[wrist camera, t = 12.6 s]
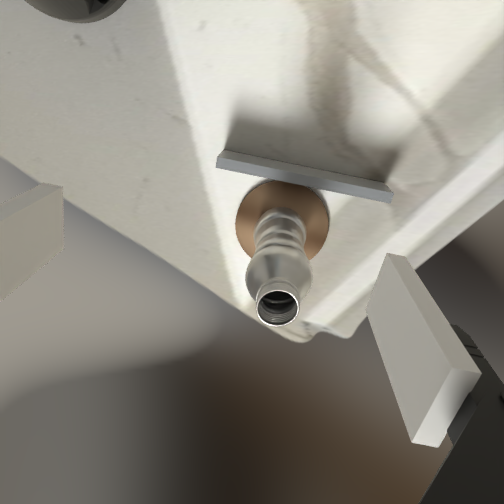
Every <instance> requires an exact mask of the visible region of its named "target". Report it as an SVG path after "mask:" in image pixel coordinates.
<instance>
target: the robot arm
mask: <svg viewBox="0 0 504 504" xmlns="http://www.w3.org/2000/svg"><path fill="white" fill-rule="evenodd" d="M25 1H26V2H27V3H29V4H30V5H31V6H33V7H34V8H36V9H37V10H39V11H41V12H43V13H45V14H47V15H49V16H51V17H54V18H57V19H61V20H65V21H68V22H74V23H90V22H95V21H99V20H101V19H104V18H106V17H108V16H109V15H111V14H113V13H114V12H115V11H116V10H117V9H119V8H120V7H121V6H122V5H123V3H124V2H125V1H126V0H25ZM63 249H64V222H63V187H62V186H57V185H52V184H47V183H42V184H40V185H38V186H36V187H34V188H32V189H30V190H28V191H26V192H24V193H21V194H19V195H17V196H15V197H13V198H11V199H9V200H7V201H5V202H3V203H1V204H0V302H1V301H2V300H4V299H5V298H6V297H7V296H8V295H9V294H11V293H12V292H13V291H14V290H15V289H17V288H18V287H19V286H20V285H21V284H22V283H24V282H25V281H26V280H27V279H29V278H30V277H31V276H32V275H33V274H34V273H35V272H37V271H38V270H39V269H40V268H42V267H43V266H44V265H45V264H46V263H48V262H49V261H50V260H51V259H52V258H53V257H55V256H56V255H57V254H58V253H60V252H61V251H62V250H63ZM365 310H366V313H367V316H368V318H369V321H370V324H371V327H372V330H373V332H374V336H375V339H376V341H377V344H378V347H379V350H380V353H381V356H382V359H383V361H384V364H385V367H386V370H387V373H388V376H389V379H390V382H391V384H392V387H393V390H394V393H395V396H396V399H397V402H398V405H399V407H400V411H401V413H402V416H403V419H404V422H405V425H406V428H407V431H408V434H409V436H410V439H411V442H412V443H417V444H423V445H428V446H433V447H439V445H440V444H441V442H442V440H443V439H444V437H445V435H446V434H447V432H448V435H449V437H450V439H451V441H452V443H453V447H452V448H451V450H450V451H449V453H448V455H447V457H446V458H445V460H444V461H443V463H442V465H441V466H440V468H439V469H438V471H437V473H436V475H435V477H434V478H433V480H432V482H431V483H430V485H429V487H428V488H427V490H426V492H425V493H424V495H423V497H422V499H421V500H420V502H419V503H418V504H504V384H503V383H502V381H501V380H500V379H499V377H498V376H497V374H496V373H495V371H494V370H493V369H492V367H491V366H490V364H489V363H488V361H487V360H486V359H484V356H483V354H482V353H481V351H480V350H479V349H477V348H478V347H477V346H476V344H475V343H474V341H473V340H472V339H471V337H470V336H469V335H468V334H467V333H465V332H464V331H463V330H462V329H461V328H460V327H458V326H457V325H452V324H449V323H448V321H447V320H446V318H445V317H444V315H443V313H442V312H441V310H440V309H439V307H438V306H437V304H436V303H435V301H434V300H433V298H432V297H431V295H430V294H429V292H428V290H427V289H426V288H425V286H424V285H423V283H422V281H421V280H420V278H419V277H418V275H417V274H416V272H415V271H414V269H413V268H412V266H411V265H410V263H409V261H408V260H407V258H406V257H404V256H399V255H395V254H390V253H387V254H386V256H385V259H384V262H383V264H382V267H381V269H380V272H379V275H378V277H377V280H376V283H375V285H374V288H373V290H372V293H371V296H370V298H369V301H368V303H367V306H366V309H365Z"/></svg>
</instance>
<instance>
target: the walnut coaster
mask: <svg viewBox="0 0 504 504" xmlns="http://www.w3.org/2000/svg"><path fill="white" fill-rule="evenodd" d="M276 207H286V208H290V209H292V210H294V211H295V212H297V213H298V214H299V215H300V217H301V218H302V219H303V221H304V223H305V226H306V231H307V233H306V240H305V244H304V252H305V254H306V256H307V258H308V260H310V259H312V258H313V257H314V256H315V255H316V254H317V253H318V252H319V251H320V249H321V248H322V246H323V244H324V242H325V240H326V237H327V233H328V217H327V212H326V210H325V207H324V205H323V203H322V201H321V200H320V198H319V197H318V196H317V195H316V194H315V193H314V192H313V191H312V190H310V189H309V188H308V187H306V186H303V185H298V184H293V183H288V182H283V181H279V180H277V181H271V182H267V183H265V184H262V185H260V186H258V187H256V188H255V189H254V190H252V191H251V192H250V193H249V194H248V195H247V196H246V197H245V199H244V200H243V201H242V203H241V205H240V207H239V209H238V212H237V216H236V223H235V227H236V235H237V238H238V241H239V243H240V245H241V247H242V248H243V250H244V251H245V252H246V253H247V255H249V256H250V257H251V258H252V257H253V255H254V253H255V250H256V246H255V243H254V237H253V231H254V227H255V224H256V222H257V221H258V219H259V218H260V217H261V216H262V215H263V214H264V213H265V212H266V211H268V210H270V209H272V208H276Z"/></svg>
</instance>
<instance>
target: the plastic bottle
mask: <svg viewBox="0 0 504 504" xmlns="http://www.w3.org/2000/svg"><path fill="white" fill-rule="evenodd" d="M306 233H307V231H306V226H305V223H304V221H303V219H302V218H301V217H300V215H299V214H298V213H297V212H295V211H294V210H292V209H290V208H286V207H276V208H272V209H270V210H268V211H266V212H265V213H264V214H263V215H262V216H261V217H260V218H259V219H258V221H257V222H256V224H255V227H254V231H253V237H254V243H255V246H256V250H255V253H254V255H253V257H252V259H251V261H250V263H249V265H248V268H247V271H246V278H245V281H246V286H247V289H248V291H249V293H250V295H251V297H252V298H253V299H254V301H256V312H257V315H258V317H259V318H260V320H261V321H263V322H264V323H265V324H267V325H270V326H274V327H280V326H285V325H287V324H289V323H291V322H292V321H293V320H294V319H295V318H296V317H297V315H298V312H299V308H300V302H302V301H303V300H304V298H305V297H306V296H307V294H308V292H309V290H310V288H311V286H312V283H313V271H312V267H311V264H310V262H309V260H308V258H307V256H306V254H305V252H304V244H305V240H306Z"/></svg>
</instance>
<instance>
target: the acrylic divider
mask: <svg viewBox="0 0 504 504" xmlns="http://www.w3.org/2000/svg"><path fill="white" fill-rule="evenodd" d="M216 168H220V169H225V170H230V171H235V172H240V173H245V174H249V175H254V176H259V177H264V178H269V179H274V180H279V181H283V182H288V183H293V184H298V185H303V186H308V187H313V188H317V189H322V190H327V191H332V192H337V193H342V194H347V195H352V196H356V197H361V198H366V199H371V200H376V201H381V202H386V203H391V200H392V198H393V195H394V193H393V192H392V191H391V190H390V189H389V188H388V187H387V186H386V185H385V184H384V183H383V182H378V181H373V180H369V179H364V178H359V177H354V176H349V175H344V174H339V173H335V172H330V171H325V170H320V169H315V168H310V167H305V166H301V165H296V164H291V163H286V162H281V161H276V160H271V159H267V158H262V157H257V156H252V155H247V154H242V153H237V152H233V151H228V150H223V151H222V152H221V153H220V154H219V156H218V157H217V162H216Z"/></svg>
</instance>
